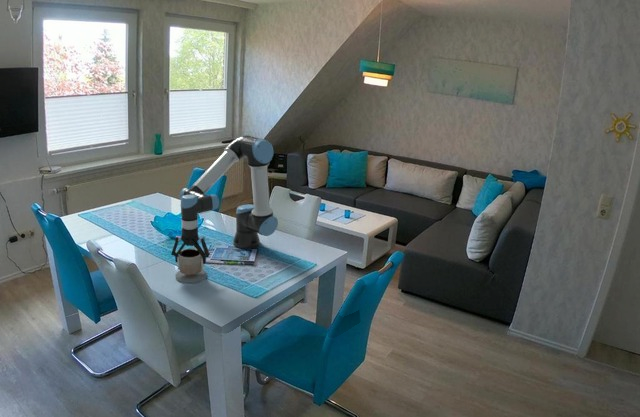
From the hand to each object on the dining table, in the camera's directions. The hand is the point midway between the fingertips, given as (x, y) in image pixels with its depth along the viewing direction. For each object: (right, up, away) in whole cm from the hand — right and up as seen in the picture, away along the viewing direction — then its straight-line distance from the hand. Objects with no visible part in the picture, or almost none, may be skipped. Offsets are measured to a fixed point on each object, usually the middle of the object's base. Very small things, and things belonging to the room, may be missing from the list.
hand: (190, 268), depth 246 cm
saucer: (0, -4, +1) cm, 4 cm away
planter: (0, -1, 0) cm, 1 cm away
